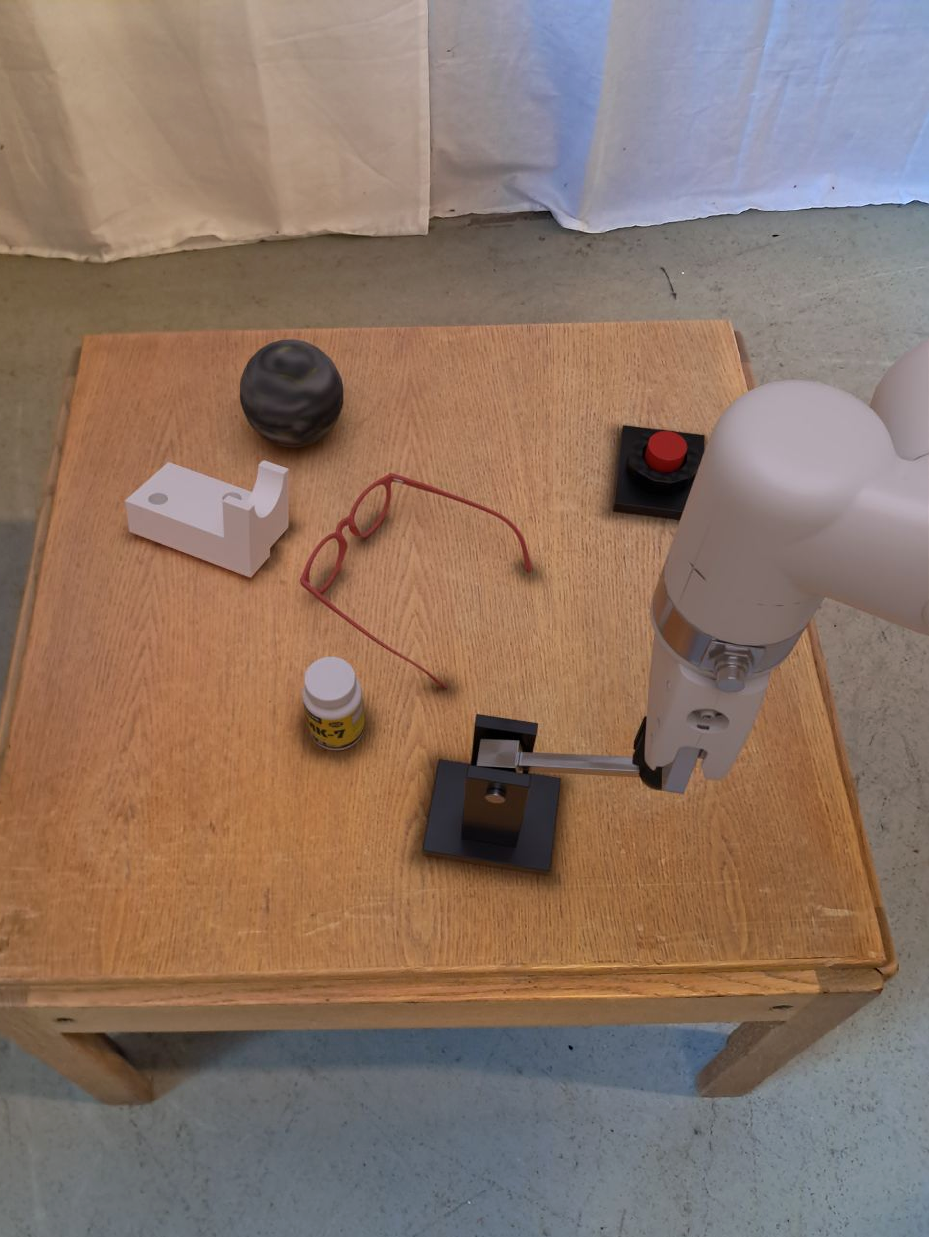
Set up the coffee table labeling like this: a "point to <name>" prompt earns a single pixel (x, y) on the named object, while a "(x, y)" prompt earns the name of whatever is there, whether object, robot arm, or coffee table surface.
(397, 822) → the coffee table surface
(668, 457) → the button
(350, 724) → the supplement bottle
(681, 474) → the control block
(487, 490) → the coffee table surface
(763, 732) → the coffee table surface
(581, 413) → the coffee table surface
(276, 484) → the bracket
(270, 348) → the decorative stone
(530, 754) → the lever
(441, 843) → the bracket
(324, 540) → the red eyeglasses
